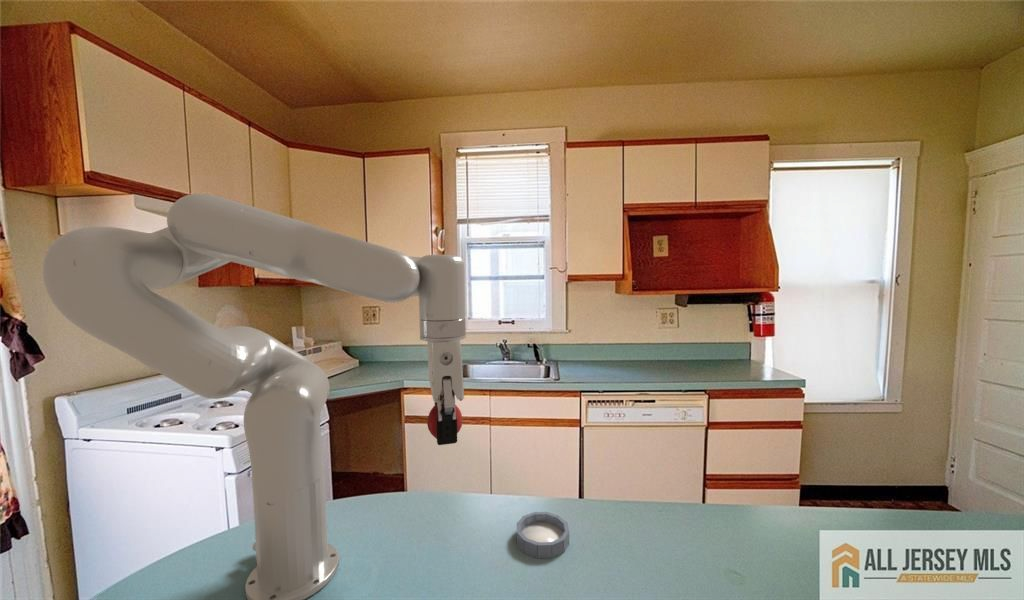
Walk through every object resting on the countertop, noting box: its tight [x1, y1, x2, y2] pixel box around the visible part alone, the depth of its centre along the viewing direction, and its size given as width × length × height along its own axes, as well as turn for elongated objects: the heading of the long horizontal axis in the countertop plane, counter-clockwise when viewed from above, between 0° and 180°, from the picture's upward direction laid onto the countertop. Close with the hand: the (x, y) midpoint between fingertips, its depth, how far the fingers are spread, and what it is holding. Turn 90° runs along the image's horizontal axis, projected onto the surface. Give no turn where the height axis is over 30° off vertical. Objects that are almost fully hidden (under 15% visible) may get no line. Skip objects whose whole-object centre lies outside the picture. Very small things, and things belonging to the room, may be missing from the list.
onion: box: [426, 397, 463, 440], centre depth 66 cm, size 6×6×8 cm
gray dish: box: [516, 511, 570, 559], centre depth 69 cm, size 9×9×2 cm
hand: (445, 434), depth 67 cm, fingers closed on onion, 5 cm apart
